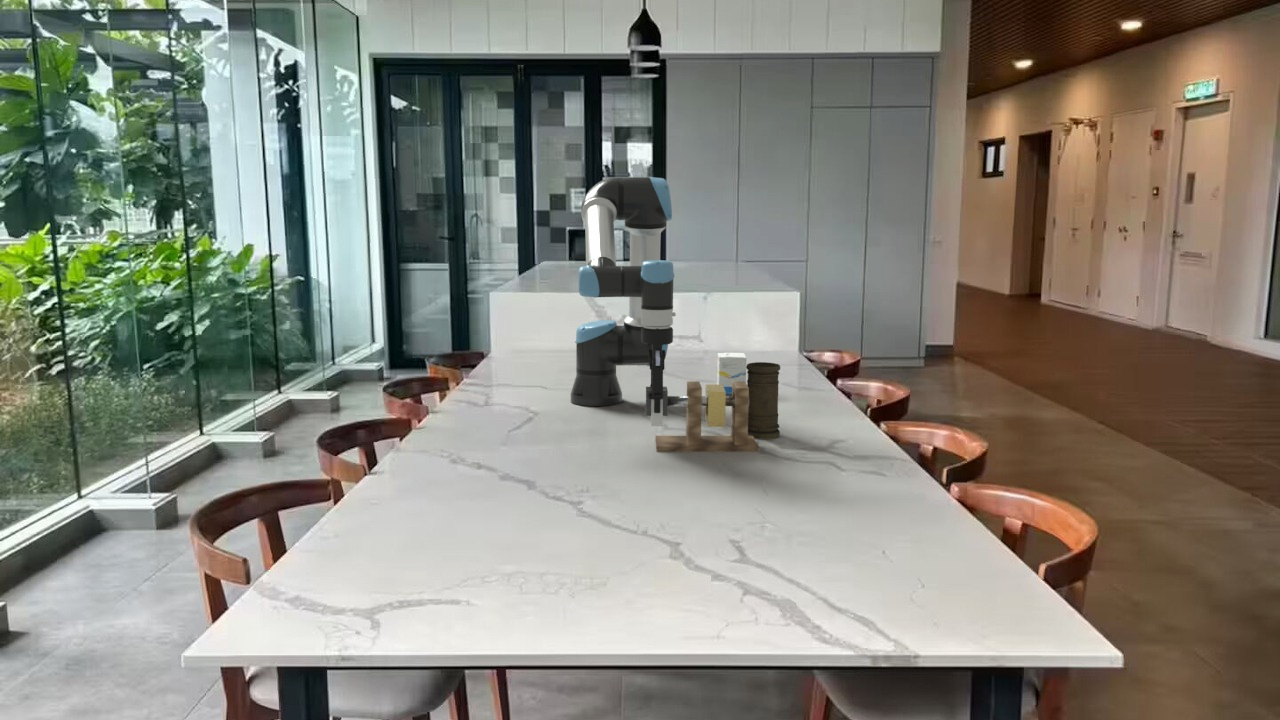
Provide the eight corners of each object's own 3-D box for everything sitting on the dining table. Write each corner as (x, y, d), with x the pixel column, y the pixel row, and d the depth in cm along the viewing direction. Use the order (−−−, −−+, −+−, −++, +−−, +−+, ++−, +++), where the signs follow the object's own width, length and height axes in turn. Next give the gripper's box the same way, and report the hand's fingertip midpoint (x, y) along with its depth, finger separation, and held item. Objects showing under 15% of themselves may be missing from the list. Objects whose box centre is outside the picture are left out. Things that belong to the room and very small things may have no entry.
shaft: (646, 415, 218) (646, 391, 217) (645, 410, 223) (645, 386, 222) (749, 415, 218) (750, 391, 217) (747, 411, 223) (747, 386, 222)
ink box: (746, 395, 279) (747, 357, 277) (718, 394, 280) (718, 356, 278) (743, 389, 288) (744, 352, 286) (716, 389, 288) (717, 352, 286)
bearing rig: (656, 451, 217) (657, 389, 214) (655, 440, 227) (655, 380, 224) (758, 451, 217) (760, 389, 215) (752, 440, 227) (754, 380, 224)
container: (778, 440, 227) (780, 368, 224) (742, 438, 229) (743, 367, 226) (780, 431, 236) (782, 362, 233) (745, 429, 238) (747, 360, 235)
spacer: (707, 426, 217) (708, 391, 215) (705, 418, 225) (705, 384, 224) (724, 426, 217) (725, 391, 215) (721, 418, 225) (722, 384, 224)
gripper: (675, 332, 208) (674, 432, 212) (671, 321, 226) (670, 414, 230) (641, 332, 208) (641, 432, 212) (640, 321, 226) (640, 414, 230)
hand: (656, 422), depth 221 cm, fingers closed on shaft, 5 cm apart
